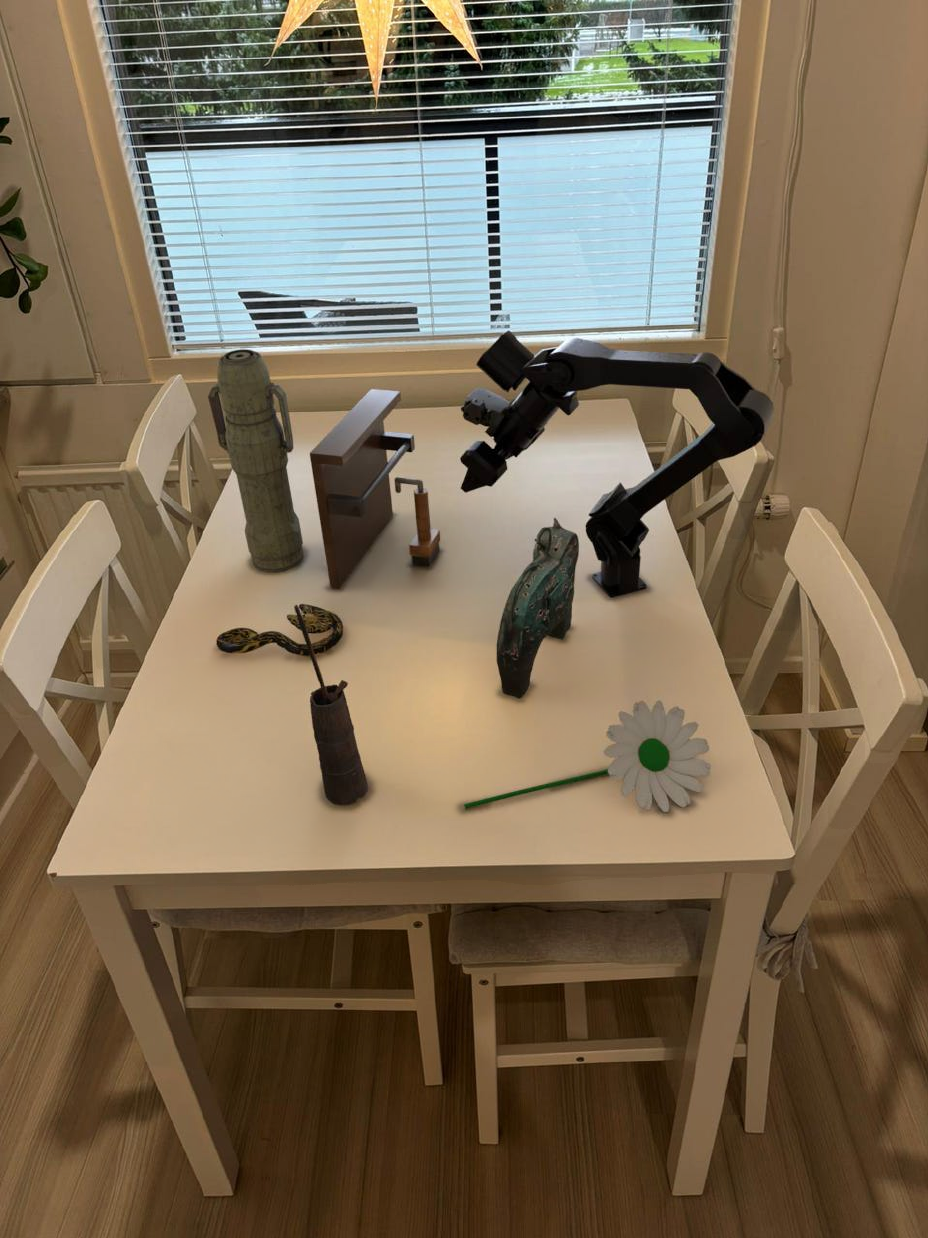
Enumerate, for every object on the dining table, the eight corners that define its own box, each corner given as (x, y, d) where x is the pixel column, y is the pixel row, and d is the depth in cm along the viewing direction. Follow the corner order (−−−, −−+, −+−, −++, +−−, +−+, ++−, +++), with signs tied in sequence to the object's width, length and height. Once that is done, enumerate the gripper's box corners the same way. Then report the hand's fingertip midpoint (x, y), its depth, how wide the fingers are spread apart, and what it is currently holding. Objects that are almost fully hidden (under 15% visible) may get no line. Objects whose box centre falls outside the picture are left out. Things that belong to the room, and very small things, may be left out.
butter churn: (370, 746, 118) (344, 561, 101) (403, 794, 111) (381, 603, 95) (302, 774, 115) (264, 587, 98) (332, 825, 108) (296, 633, 91)
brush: (441, 550, 155) (435, 472, 147) (430, 568, 151) (424, 489, 142) (407, 546, 157) (400, 469, 148) (396, 563, 152) (388, 485, 144)
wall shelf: (421, 518, 164) (410, 391, 150) (370, 594, 146) (353, 457, 132) (384, 514, 166) (371, 388, 152) (330, 588, 147) (309, 453, 133)
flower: (450, 750, 108) (693, 685, 110) (451, 760, 113) (684, 697, 116) (480, 863, 104) (733, 792, 106) (480, 867, 109) (721, 800, 111)
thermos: (250, 544, 159) (208, 344, 139) (317, 544, 158) (285, 343, 138) (236, 572, 152) (189, 367, 132) (306, 573, 151) (271, 365, 131)
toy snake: (206, 629, 131) (232, 594, 140) (210, 656, 134) (235, 620, 142) (329, 640, 129) (347, 604, 137) (331, 668, 131) (349, 630, 140)
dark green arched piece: (547, 614, 139) (548, 497, 127) (587, 625, 137) (593, 506, 125) (488, 694, 125) (484, 570, 113) (532, 707, 123) (532, 582, 111)
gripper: (515, 351, 141) (464, 419, 152) (461, 397, 128) (409, 468, 139) (569, 401, 142) (514, 465, 153) (520, 452, 129) (464, 518, 140)
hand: (476, 477), depth 146 cm, fingers open, 9 cm apart
